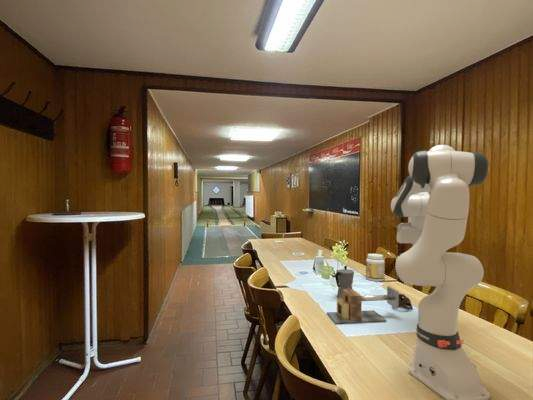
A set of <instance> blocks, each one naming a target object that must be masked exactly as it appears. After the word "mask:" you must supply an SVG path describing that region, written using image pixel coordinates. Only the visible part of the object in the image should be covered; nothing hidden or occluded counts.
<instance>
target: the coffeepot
mask: <svg viewBox="0 0 533 400" xmlns="http://www.w3.org/2000/svg"><path fill="white" fill-rule="evenodd" d="M354 275H355V271H354V269H348V266H347V265H344V266H343V268H342V269H338V270H337V271H336V273H335V275H334V278H335V282H336V286H337V287H338V289H337V293H336V294H337V295H336V299H337V298H343V289H353V286H352V285H353V281H354Z"/></svg>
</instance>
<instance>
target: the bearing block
mask: <svg viewBox="0 0 533 400" xmlns="http://www.w3.org/2000/svg"><path fill="white" fill-rule="evenodd" d="M362 296H363V295H361V294H360V293H359V292H357V291H356V290H354V289H353V288H352V289H343V299H344V300H345V301H347V302H348V303H349V320H342V319H341V318H340V317H339V316H338V315H337V311H332V312H331V311H328V312H326V315H327V316H328V317H329V319H330V320H331V321H332V322H333V324H334V325H352V324H354V325H355V324H372V323H387V319H385V318H384V317H383V316H382V315H380V314H379V313H378V312H376V311H375V310H374V309H371V310H362V302H363V301H362Z"/></svg>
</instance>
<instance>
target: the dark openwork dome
mask: <svg viewBox="0 0 533 400" xmlns="http://www.w3.org/2000/svg"><path fill="white" fill-rule="evenodd" d="M403 307H405V308H407V307H409V308H410V309H411V310H413V305H412V301H411V299H410V298H409V297H408V296H406V295H405V294H404V293H399V308H403ZM391 308H392V309H395V308H394V307H393V306H391Z"/></svg>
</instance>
